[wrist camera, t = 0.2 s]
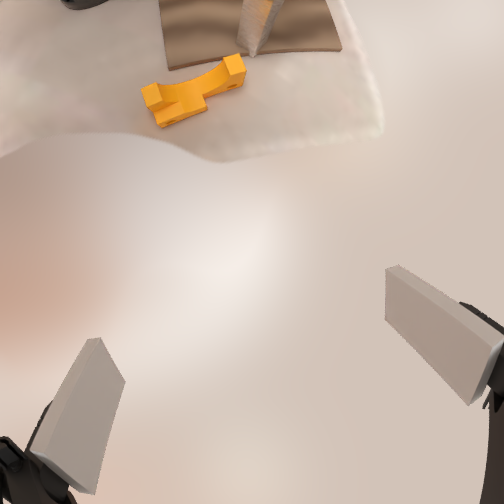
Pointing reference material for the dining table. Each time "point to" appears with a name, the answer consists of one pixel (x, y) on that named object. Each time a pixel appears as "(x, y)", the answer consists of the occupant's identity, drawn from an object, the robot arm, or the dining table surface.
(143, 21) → the dining table surface
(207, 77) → the pipe clamp
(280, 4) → the hook
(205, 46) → the board
